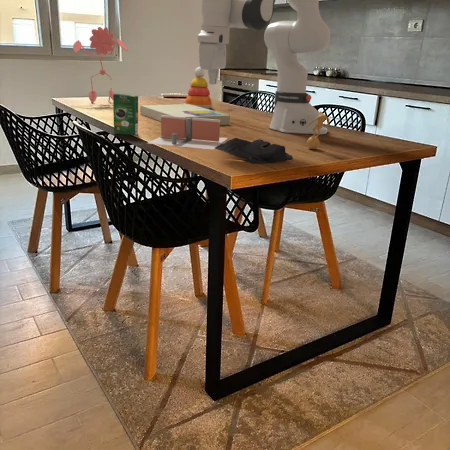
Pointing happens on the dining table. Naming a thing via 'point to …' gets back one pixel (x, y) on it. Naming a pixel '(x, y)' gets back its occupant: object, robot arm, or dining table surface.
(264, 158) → the dark slate chunk
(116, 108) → the coffee box
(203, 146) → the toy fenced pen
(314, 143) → the figurine
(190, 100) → the stacking toy
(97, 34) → the figurine
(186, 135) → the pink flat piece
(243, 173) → the dining table surface
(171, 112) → the puzzle box
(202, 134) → the fence panel
